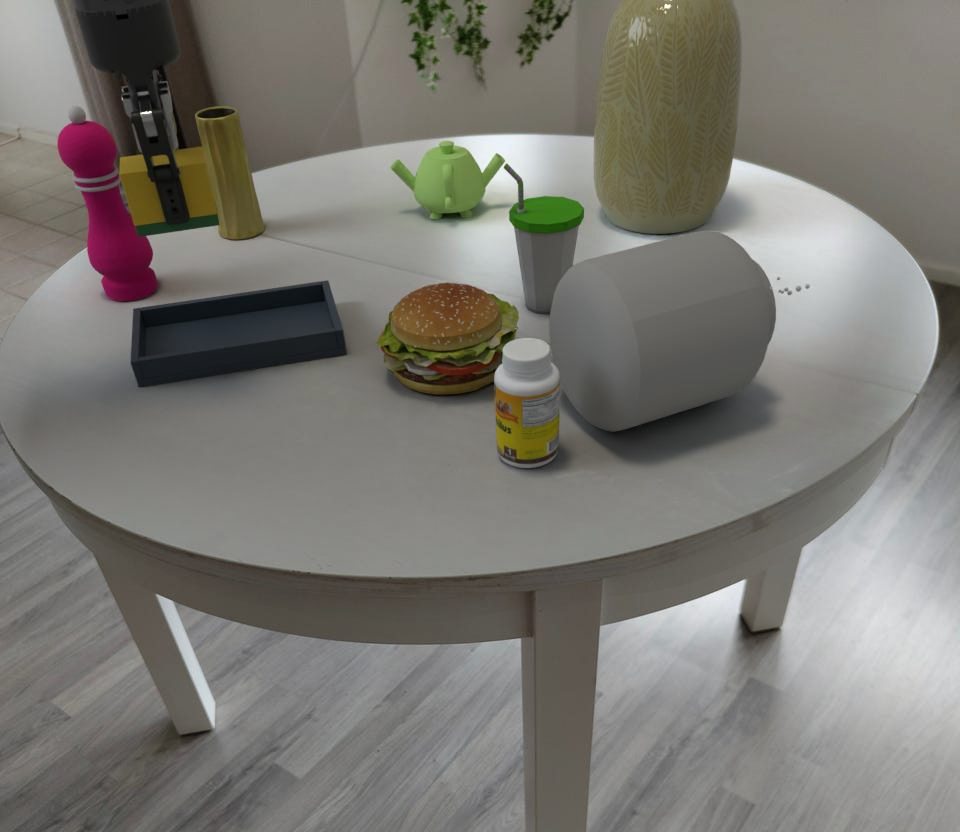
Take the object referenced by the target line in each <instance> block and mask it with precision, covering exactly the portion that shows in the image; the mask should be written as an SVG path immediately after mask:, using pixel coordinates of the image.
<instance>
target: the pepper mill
mask: <svg viewBox="0 0 960 832" xmlns="http://www.w3.org/2000/svg"><path fill="white" fill-rule="evenodd" d="M67 117H68V119H69V121H70V123H68V124H67V125H65V126H64V127H63V128H62V129H61V130H60V132H59V134H58V136H57V141H56V142H57V143H56V144H57V151H58V155H59V157H60V159H61V161H62V163H63V164H64V165H65V166H66V167H67V168H68V169H70V170H71V171H72V175H71V178H72V179H71V180H73V182H74V188H75V190H77V191H80V193H81V196H82V197H83V200H84V202H85V206H86V209H87V214H88V230H87V240H86V249H87V250H86V251H87V257H88V260H89V264H90V265H91V267H92V268H93V269H94V270H95V271H96V272H97V273H98V274H100V275H102V277H101V280H100V282H101V285H102V289H103V292H104V295H105V296H106V297H107V298H108V299H109V300H112V301H116V302H134V301H137V300H141V299H145V298H147V297H149V296H150V295H152V294H154V293H155V292H156V291H157V289H158V288H159V283H158V279H157V276H156V271H155V270H154V269H153V268H151V267H150V265H151V263H152V261H153V257H154V251H153V247H152V245H151V242H150V240H149V239H148V237H147V236H142V237H138V235H137V232H136V228H135V225H134V222H133V218H132V215H131V212H129V209H127V207H126V204H125V202H124V199H123V196H122V194H121V190H120V189H121V188H120V184H121V183H122V182H121V179H120V175H119V173H120V169H119V167H117V166H115V165H114V164H115V161H116V159H117V156H118V148H117V144H116V141H115V138H114V137H113V135H112V134H111V132H110V131H109V130H108V129H107V128H106V127H105V126H104V125H102V124H100V123H98V122H96V121H93V120H87V115H86V112H85V110H84V109H83V108H82V107H80V106H78V105H72V106H71V107H69V108H68V110H67Z"/></svg>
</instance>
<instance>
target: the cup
mask: <svg viewBox="0 0 960 832" xmlns="http://www.w3.org/2000/svg"><path fill="white" fill-rule="evenodd" d="M503 169H504V170H505V171H506V172H507V173H508V174H509V175H510V176H511V177H512V178H513V179H514V180H515V181H516V183H517V184H516V185H517V202H516V203H514V204H513V205H512V206H511V208H510V210H509V211H508V220H509V222H510V223H511V225H512V226H513V227H514V228H513V230H514V237H515V243H516V250H517V255H518V256H517V257H518V262H519V270H520V276H521V281H522V282H521V283H522V287H523V296H524V303H525V307H526V308H527V309H528V310H529V311H531V312H533V313H535V314H544V315H545V314H546V315H547V314H550V312H551V306H552V302H553V297H554V293H555V290H556V288H557V285H558V283H559V282H560V280H561V279H562V277H563V276H564V275H565V273H566V272H567V271H568V269H569V268H571V267H572V266H574V261H575V253H576V249H577V248H576V247H577V240H578V235H579V234H578V233H579V228H580V225H581V224H582V222H583V220H584V218H585V207H584V206H583V205H582V204H581V203H580V202H579V201H578V200H575V199H571V198H568V197H564V196H551V195H549V196H548V195H543V196H535V197H530V198H524V197H525V195H524V191H525V190H524V181H523V179H522V177H521V176H520V175H519V174H518V173H517V172H516V171H515V169H513V167H511V165H509V163H507V162H505V163H504V166H503Z"/></svg>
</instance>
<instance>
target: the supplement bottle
mask: <svg viewBox="0 0 960 832" xmlns="http://www.w3.org/2000/svg"><path fill="white" fill-rule="evenodd" d="M493 387H494V407H495V408H494V413H495V433H496V435H495V437H496V450H497V454H498V456H499V458H500V459H501V460H502V461H503V462H505V463H506V464H508V465H509V466H512V467H515V468H519V469H534V468H539V467H542V466H545V465H547V464H549V463H550V462H552V461H553V460H554V459H555V458H556V456H557V455H558V453H559V447H560V407H561V405H560V404H561V403H560V401H561V398H560V397H561V383H560V373H559V370H558V368H557V367H556V366H555V365H554V362H552V358H551V346H550V345H549V344H548V343H547V342H546V341H544V340H542V339H539V338H534V337H519V338H515V340H513V341H510V342H508V343H507V344H506V345H505V346H504V347H503V359H502V364H501V365H500V366H499V367H498V368H497V370H496V371H495V375H494V382H493Z"/></svg>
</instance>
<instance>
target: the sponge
mask: <svg viewBox="0 0 960 832" xmlns="http://www.w3.org/2000/svg"><path fill="white" fill-rule="evenodd" d="M175 156H176V160H177V164H178V167H179V168H180V170H181V174H180V177H181V179H180V180H181V184H182V188H183V191H184V195H185V199H186V203H187V207H188V211H189V215H190V220H189V221H188V222H187V223H181V224H174V225H170V224H168V223H167V222H166V220H165V217H164V214H163V210H162V206H161V203H160V199H159V196H158V192H157V189H156V185H155V183H153V182H151V180H150V178H148V175H147V172H148V170H147V167H146V163H145V160H144V157H143V154H142V153H141V154H137V155H128V156H122V157H121V156H120V157H119V172H118V174H119V176H120V179H121V182H120V183H121V185H122V188H123V192H124V195H125V199H126V202H127V205H128V208H129V211H130V212H129V213H130V215H131V216H132V218H133V222H134V225H135V228H136V232H137V235H138V237H142V236H146V237H147V236H148V237H149V236H155V235H162V234H168V233H176V232H182V231H190V230H196V229H204V228H210V227H216V226H217V227H218V225H220V224H219V218H218V212H217V207H216V202H215V198H214V194H213V190H212V186H211V182H210V177H209V173H208V169H207V165H206V161H205V156H204V152H203V148H202V146H194V147H187V148H182V149H179V150H175ZM152 157H153V160H154V164H155V165H162V164H170V163H169V159H168V157H167V156H166V155H159V156H152Z"/></svg>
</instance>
